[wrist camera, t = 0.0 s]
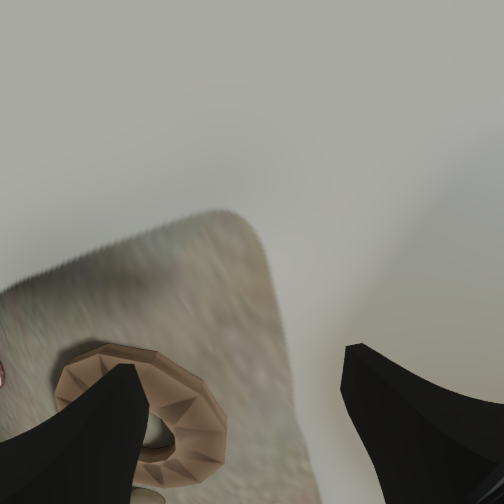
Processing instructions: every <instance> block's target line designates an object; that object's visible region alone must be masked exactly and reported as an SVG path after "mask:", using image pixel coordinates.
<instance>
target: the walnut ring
mask: <svg viewBox="0 0 504 504" xmlns="http://www.w3.org/2000/svg"><path fill="white" fill-rule="evenodd" d="M119 363H123V364H134V365H135V368H136V370H137V373H138V376H139V379H140V381H141V384H142V387H143V389H144V392H145V395H146V397H147V400H148V402H149V405H150V407H149V412H151V413H152V414H154V415H156V416H157V417H159V418H161V419H162V420H163V421H164V423H165V424H166V425H167V427H168V428H169V429H170V430H171V432H172V433H173V434H174V435H175V441H174V442H173V443H172V444H171V445H170V446H168V447H163V448H158V449H149V448H145V447H142V448H141V451H140V455H139V459H138V462H137V466H136V470H135V474H134V478H133V482H136V483H141V484H145V485H150V486H154V487H159V488H173V487H180V486H187V485H193V484H198V483H201V482H203V481H204V480H205V479H206V478H208V477H209V476H210V475H211V474H213V473H214V472H215V471H216V470H217V469H219V468H220V467H221V466H222V465H223V464H224V463H225V449H226V435H227V416H226V414H225V413H224V411H223V410H222V409H221V407H220V406H219V404H218V403H217V401H216V400H215V398H214V397H213V395H212V393H211V392H210V390H209V389H208V387H207V386H206V384H205V383H204V381H203V380H202V379H200V378H198V377H197V376H195V375H193V374H192V373H190V372H188V371H187V370H185V369H183V368H182V367H180V366H179V365H177V364H175V363H174V362H172V361H171V360H169V359H168V358H166V357H165V356H163V355H162V354H160V353H159V352H156V351H149V350H143V349H137V348H132V347H126V346H121V345H116V344H111V343H108V344H106V345H104V346H101V347H99V348H96V349H94V350H91V351H89V352H86V353H84V354H81V355H79V356H76V357H75V358H74V359H73V360H71V361H70V362H69V363H68V364H67V365H66V366H65V367H64V369H63V372H62V374H61V377H60V379H59V382H58V385H57V387H56V390H55V393H54V398H55V402H56V405H57V409H58V412H60V411H61V410H62V409H64V408H65V407H66V406H68V405H69V404H70V403H71V402H73V401H74V400H75V399H77V398H78V397H79V396H80V395H82V394H83V393H84V392H85V391H86V390H87V389H89V388H90V387H91V386H92V385H93V384H95V383H96V382H97V381H98V380H99V379H100V378H101V377H103V376H104V375H105V374H106V373H107V372H108V371H110V370H111V369H112V368H113V367H115V366H116V365H117V364H119Z"/></svg>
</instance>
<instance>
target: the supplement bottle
mask: <svg viewBox="0 0 504 504" xmlns="http://www.w3.org/2000/svg"><path fill="white" fill-rule="evenodd" d="M4 383H5V376H4V371H3V368H2V365H1V363H0V389H1V388H2V387H3V386H4Z"/></svg>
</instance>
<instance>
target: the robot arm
mask: <svg viewBox="0 0 504 504" xmlns="http://www.w3.org/2000/svg"><path fill="white" fill-rule="evenodd" d="M340 390H341V394H342V397H343V400H344V403H345V406H346V409H347V411H348V414H349V416H350V418H351V420H352V422H353V424H354V426H355V428H356V430H357V432H358V434H359V436H360V438H361V440H362V442H363V444H364V446H365V448H366V450H367V452H368V454H369V456H370V458H371V460H372V463H373V465H374V467H375V470H376V473H377V476H378V479H379V482H380V485H381V489H382V492H383V496H384V499H385V503H386V504H504V404H498V403H493V402H487V401H483V400H479V399H475V398H471V397H468V396H464V395H461V394H458V393H455V392H453V391H450V390H447V389H445V388H442V387H440V386H438V385H435V384H433V383H431V382H429V381H427V380H425V379H423V378H421V377H419V376H417V375H415V374H413V373H411V372H410V371H408V370H406V369H404V368H403V367H401V366H399V365H398V364H396V363H394V362H392V361H391V360H389V359H387V358H386V357H384V356H383V355H381V354H380V353H378V352H376V351H375V350H373V349H371V348H370V347H368V346H366V345H365V344H363V343H360V344H355V345H350V346H346V349H345V358H344V365H343V373H342V380H341V387H340ZM149 407H150V405H149V402H148V400H147V397H146V395H145V392H144V389H143V387H142V384H141V381H140V379H139V376H138V373H137V370H136V368H135V365H134V364H123V363H119V364H117V365H116V366H115V367H113V368H112V369H111V370H110V371H108V372H107V373H106V374H105V375H104V376H103V377H101V378H100V379H99V380H98V381H97V382H96V383H95V384H93V385H92V386H91V387H90V388H89V389H87V390H86V391H85V392H84V393H83V394H82V395H80V396H79V397H78V398H77V399H75V400H74V401H73V402H71V403H70V404H69V405H68V406H66V407H65V408H64V409H62V410H61V411H60V412H58V413H57V414H56V415H54V416H53V417H51V418H50V419H48V420H46V421H45V422H43V423H41V424H40V425H38V426H36V427H35V428H33V429H31V430H29V431H27V432H24V433H22V434H20V435H18V436H16V437H14V438H12V439H9V440H6V441H4V442H1V443H0V504H130V498H131V488H132V483H133V478H134V474H135V470H136V466H137V462H138V459H139V455H140V451H141V448H142V444H143V440H144V437H145V433H146V429H147V423H148V415H149Z"/></svg>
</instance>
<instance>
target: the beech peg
mask: <svg viewBox="0 0 504 504" xmlns="http://www.w3.org/2000/svg"><path fill="white" fill-rule="evenodd" d="M165 502H166V501H165V498H164V497H163V496H162V495H160V494H159V493H157V492H155V491H152V490H149V489H145V488H135V489H133V490H132V493H131V498H130V504H165Z"/></svg>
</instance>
